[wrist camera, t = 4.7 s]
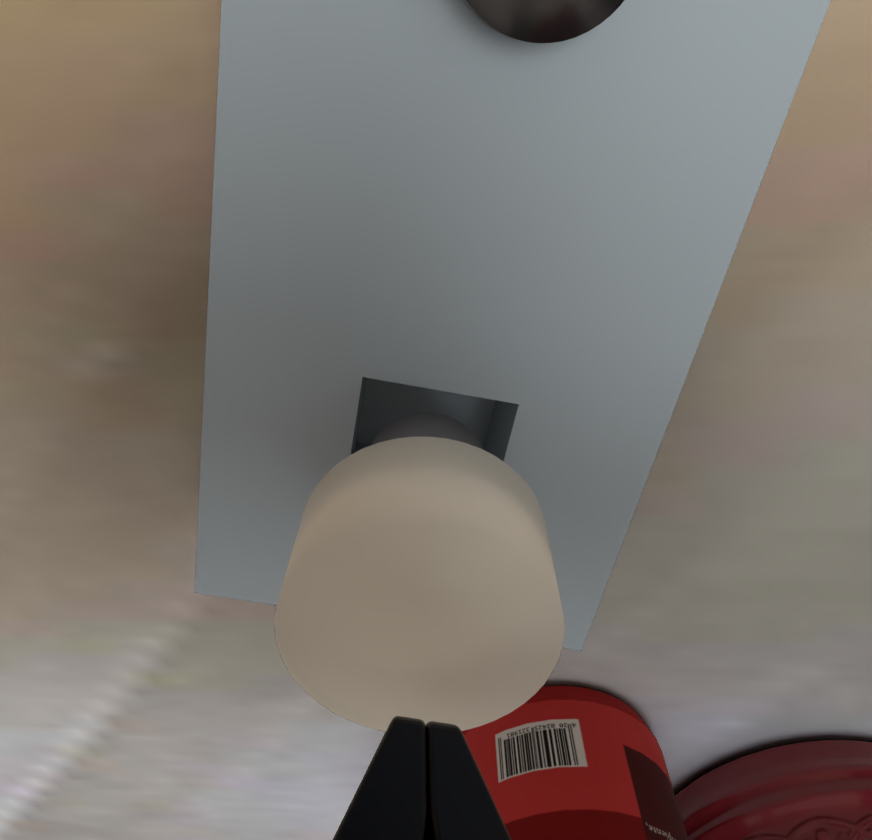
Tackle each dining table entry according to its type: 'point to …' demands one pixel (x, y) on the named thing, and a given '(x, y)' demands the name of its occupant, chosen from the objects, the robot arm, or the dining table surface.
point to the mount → (471, 251)
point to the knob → (421, 583)
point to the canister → (785, 795)
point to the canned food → (576, 770)
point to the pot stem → (542, 17)
